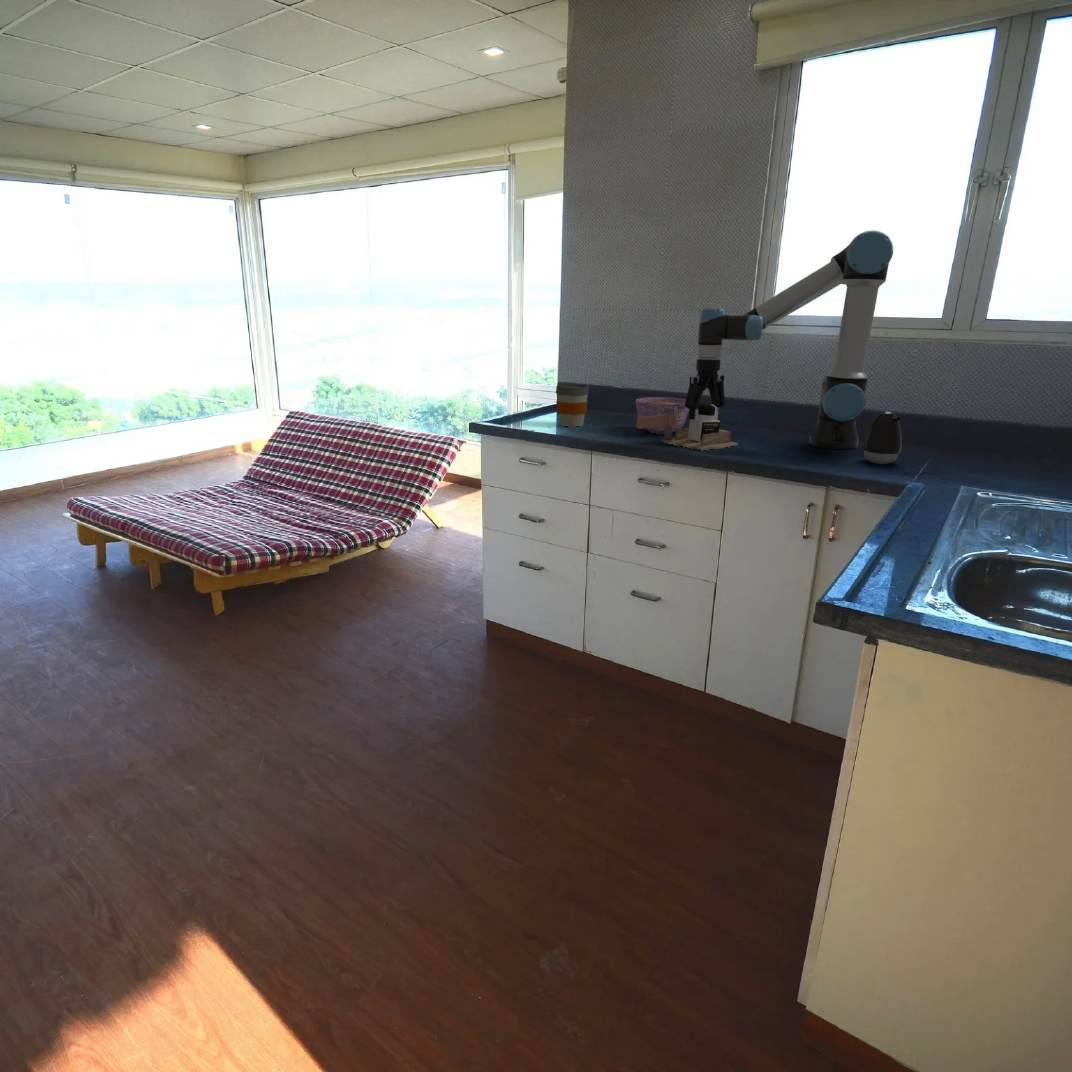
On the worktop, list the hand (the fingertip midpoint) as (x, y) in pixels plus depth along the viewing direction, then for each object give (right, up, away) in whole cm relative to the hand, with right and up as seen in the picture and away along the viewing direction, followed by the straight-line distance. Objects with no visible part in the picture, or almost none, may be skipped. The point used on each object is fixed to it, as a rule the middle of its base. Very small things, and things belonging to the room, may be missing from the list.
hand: (703, 427), depth 231 cm
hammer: (-16, -4, 0) cm, 17 cm away
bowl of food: (-10, +2, +23) cm, 25 cm away
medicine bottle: (0, -4, +1) cm, 4 cm away
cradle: (0, -5, +2) cm, 5 cm away
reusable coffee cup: (-42, +7, +37) cm, 56 cm away
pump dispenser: (+47, -14, -25) cm, 55 cm away
